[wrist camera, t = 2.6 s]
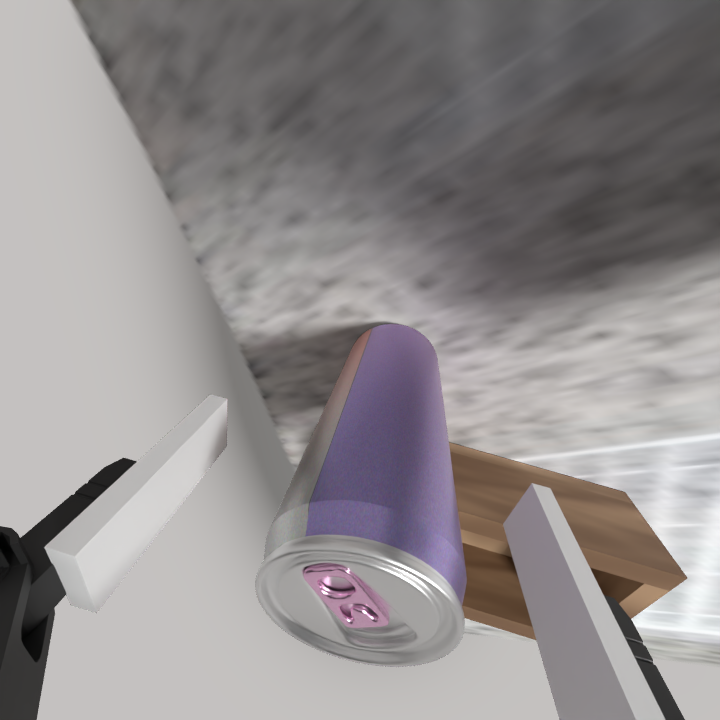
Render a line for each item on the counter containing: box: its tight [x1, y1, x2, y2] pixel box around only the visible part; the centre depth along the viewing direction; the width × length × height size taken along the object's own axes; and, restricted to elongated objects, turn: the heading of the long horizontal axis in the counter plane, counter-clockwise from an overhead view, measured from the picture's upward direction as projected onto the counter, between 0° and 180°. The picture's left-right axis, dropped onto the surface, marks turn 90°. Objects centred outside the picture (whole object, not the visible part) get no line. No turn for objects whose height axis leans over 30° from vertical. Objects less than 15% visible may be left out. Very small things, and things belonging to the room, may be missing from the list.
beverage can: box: [255, 324, 467, 667], centre depth 15 cm, size 6×6×15 cm
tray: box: [449, 442, 687, 640], centre depth 23 cm, size 11×19×6 cm, turn 77°
